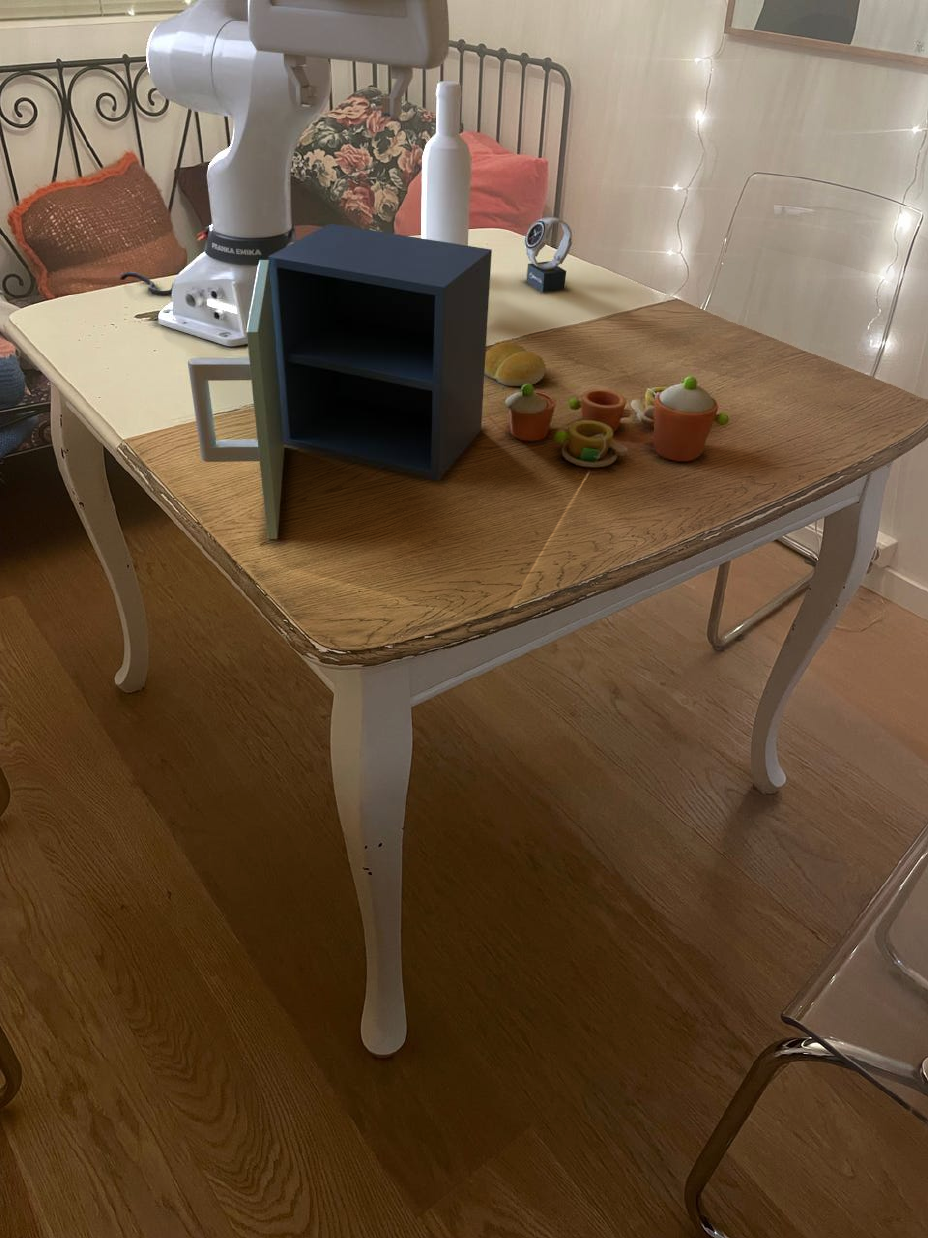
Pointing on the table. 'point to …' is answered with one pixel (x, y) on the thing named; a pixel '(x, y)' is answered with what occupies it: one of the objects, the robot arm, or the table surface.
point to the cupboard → (381, 346)
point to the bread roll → (513, 365)
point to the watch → (549, 272)
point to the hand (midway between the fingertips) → (348, 111)
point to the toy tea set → (670, 410)
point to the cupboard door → (265, 398)
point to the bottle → (446, 173)
